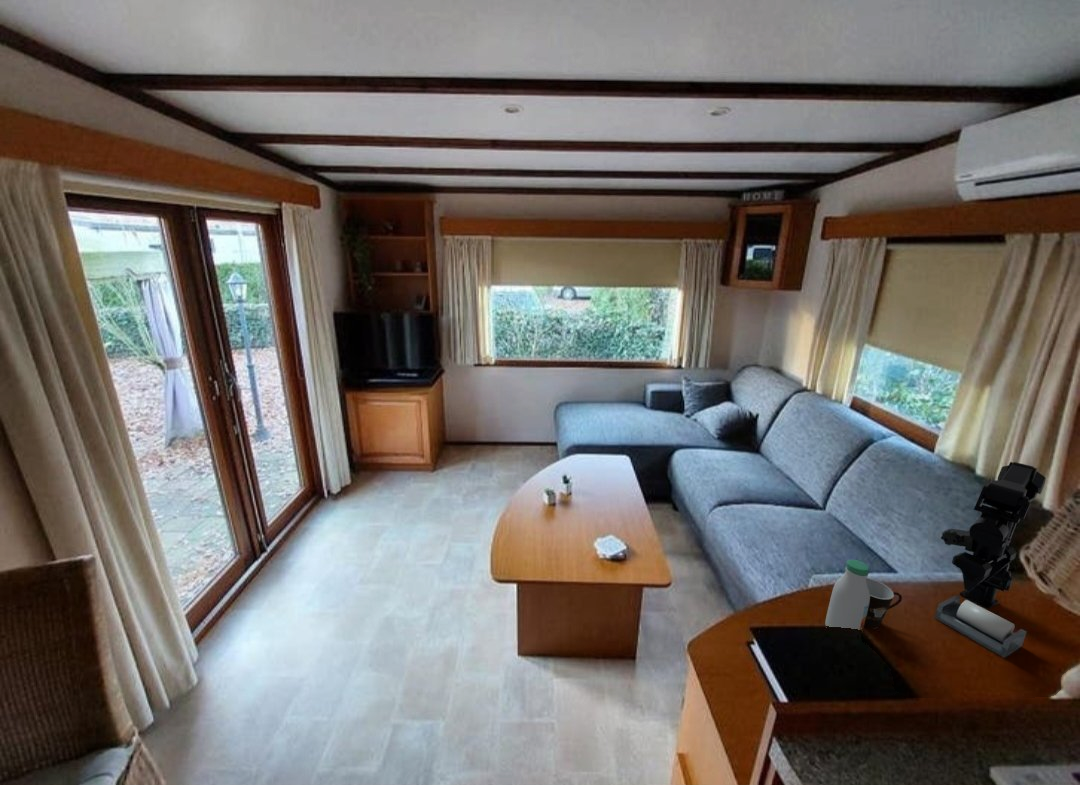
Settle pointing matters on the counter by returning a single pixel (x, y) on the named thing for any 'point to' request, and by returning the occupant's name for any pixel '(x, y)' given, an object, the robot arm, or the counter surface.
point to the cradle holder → (949, 617)
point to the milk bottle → (850, 598)
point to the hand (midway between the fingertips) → (975, 584)
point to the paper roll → (985, 621)
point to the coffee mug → (878, 602)
